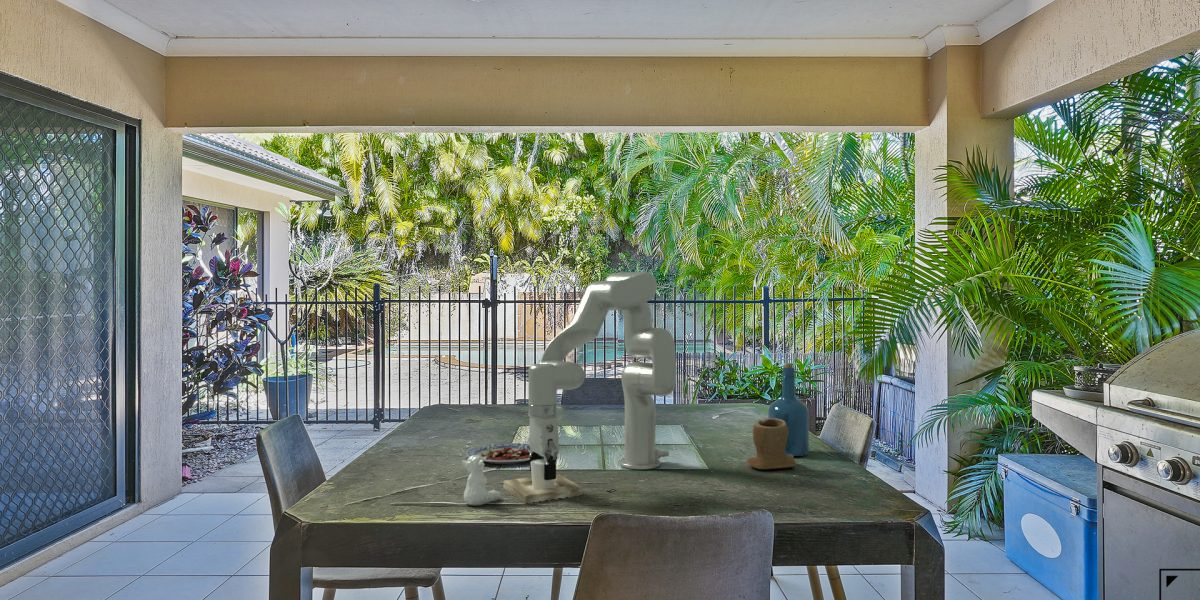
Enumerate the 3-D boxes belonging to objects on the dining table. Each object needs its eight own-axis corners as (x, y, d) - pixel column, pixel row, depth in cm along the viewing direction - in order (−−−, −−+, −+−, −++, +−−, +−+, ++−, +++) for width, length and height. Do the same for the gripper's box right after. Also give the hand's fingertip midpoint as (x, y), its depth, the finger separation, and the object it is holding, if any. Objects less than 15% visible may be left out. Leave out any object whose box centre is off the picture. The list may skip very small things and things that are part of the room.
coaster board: (557, 480, 191) (557, 473, 191) (582, 495, 177) (582, 487, 177) (503, 488, 184) (503, 480, 184) (525, 503, 170) (525, 495, 170)
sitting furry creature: (501, 498, 174) (501, 451, 174) (488, 508, 166) (489, 459, 166) (467, 496, 176) (467, 449, 176) (452, 505, 168) (453, 457, 168)
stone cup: (758, 474, 199) (758, 423, 199) (742, 464, 210) (742, 416, 210) (806, 472, 201) (806, 421, 201) (788, 462, 213) (788, 415, 213)
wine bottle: (814, 458, 219) (814, 365, 219) (773, 458, 219) (773, 365, 219) (802, 449, 233) (802, 361, 233) (763, 448, 233) (763, 361, 233)
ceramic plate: (562, 455, 223) (562, 446, 223) (511, 472, 201) (512, 462, 201) (502, 446, 237) (502, 437, 237) (449, 460, 215) (449, 451, 215)
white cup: (552, 492, 176) (552, 465, 176) (527, 490, 177) (527, 464, 177) (559, 485, 183) (559, 459, 183) (534, 483, 184) (534, 458, 184)
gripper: (569, 414, 174) (569, 481, 175) (543, 405, 190) (542, 466, 190) (542, 416, 171) (542, 484, 171) (517, 407, 186) (517, 469, 186)
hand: (542, 475), depth 180 cm, fingers open, 9 cm apart
